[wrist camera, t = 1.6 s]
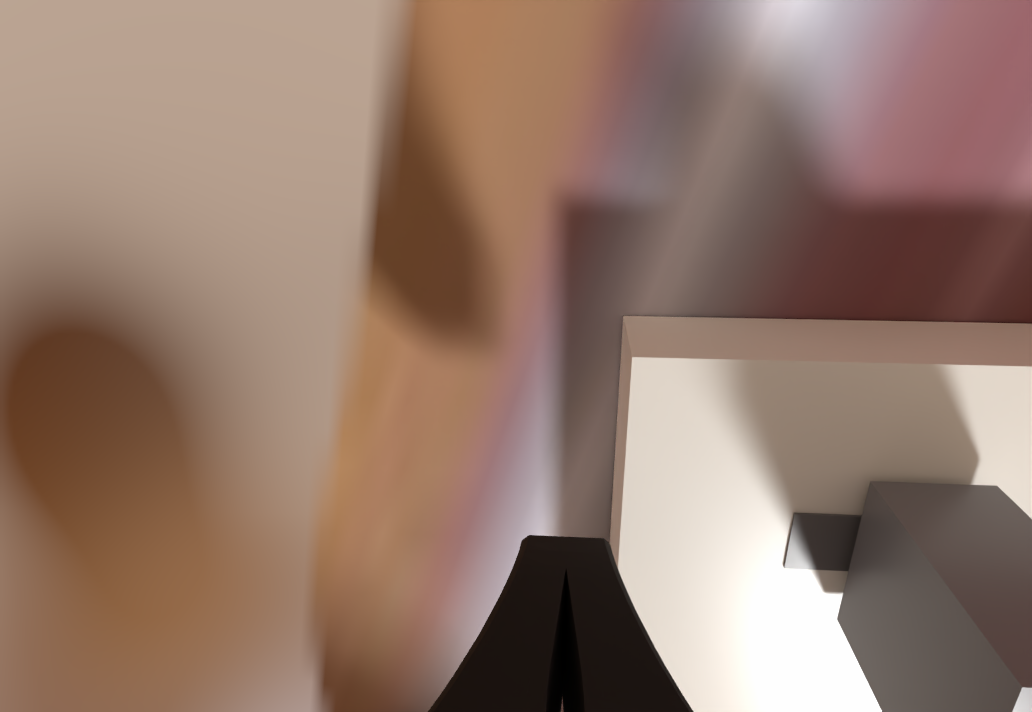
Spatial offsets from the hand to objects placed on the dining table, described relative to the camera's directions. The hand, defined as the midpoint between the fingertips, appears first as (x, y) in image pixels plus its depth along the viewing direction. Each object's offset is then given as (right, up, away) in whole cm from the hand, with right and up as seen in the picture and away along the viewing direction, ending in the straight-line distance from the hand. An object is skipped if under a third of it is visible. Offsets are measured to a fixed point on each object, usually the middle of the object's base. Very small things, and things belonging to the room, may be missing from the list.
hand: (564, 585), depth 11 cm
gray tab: (+6, 0, +1) cm, 6 cm away
